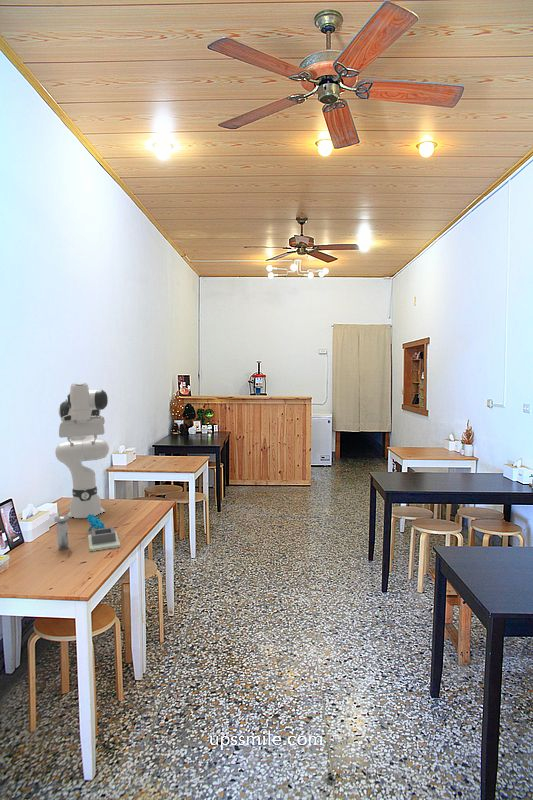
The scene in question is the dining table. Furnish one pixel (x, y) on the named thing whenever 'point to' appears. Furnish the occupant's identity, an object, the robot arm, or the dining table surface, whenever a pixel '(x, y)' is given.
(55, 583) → the dining table surface
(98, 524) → the gear
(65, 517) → the pin
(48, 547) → the dining table surface
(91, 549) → the socket board
